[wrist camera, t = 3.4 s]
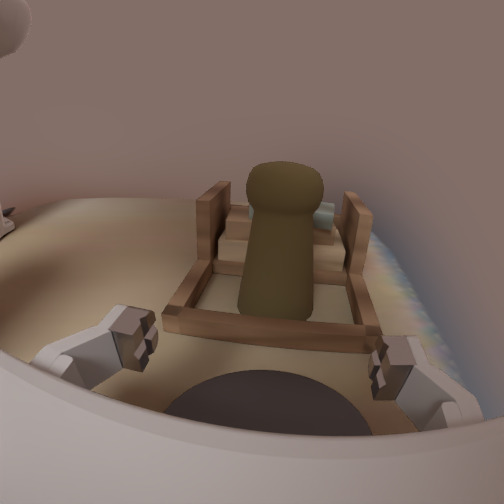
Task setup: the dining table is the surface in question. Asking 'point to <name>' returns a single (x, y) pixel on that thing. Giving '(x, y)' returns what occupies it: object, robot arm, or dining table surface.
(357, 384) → the dining table surface
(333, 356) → the dining table surface
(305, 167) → the cork
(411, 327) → the dining table surface
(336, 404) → the coaster
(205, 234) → the rack
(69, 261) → the dining table surface
